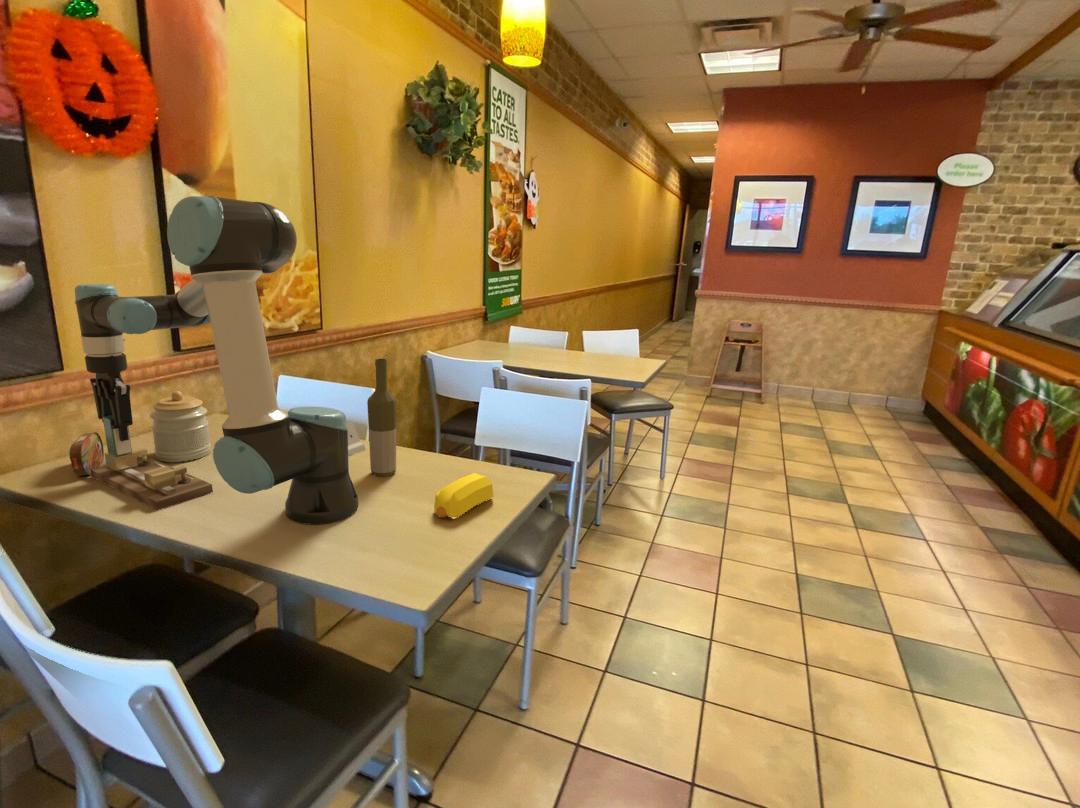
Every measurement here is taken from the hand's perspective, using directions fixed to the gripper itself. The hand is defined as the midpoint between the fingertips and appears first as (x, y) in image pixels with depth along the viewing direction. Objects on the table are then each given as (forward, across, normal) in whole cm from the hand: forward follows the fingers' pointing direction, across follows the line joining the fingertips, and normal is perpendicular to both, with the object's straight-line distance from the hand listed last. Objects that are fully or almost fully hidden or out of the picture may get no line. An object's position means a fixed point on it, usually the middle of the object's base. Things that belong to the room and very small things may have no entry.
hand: (119, 450), depth 136 cm
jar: (+7, +6, -17) cm, 19 cm away
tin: (+7, +13, +2) cm, 15 cm away
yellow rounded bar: (+8, -74, -37) cm, 83 cm away
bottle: (+7, -45, -40) cm, 61 cm away
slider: (+4, 0, -2) cm, 5 cm away
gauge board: (+7, -8, -2) cm, 11 cm away
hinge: (+8, -25, -41) cm, 49 cm away
